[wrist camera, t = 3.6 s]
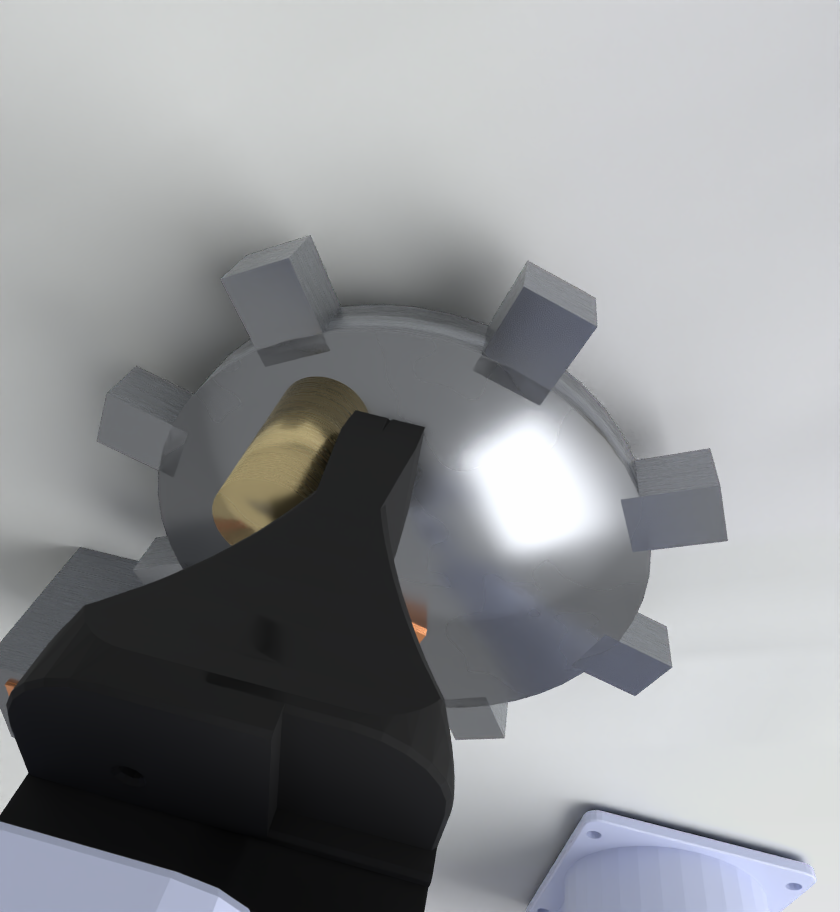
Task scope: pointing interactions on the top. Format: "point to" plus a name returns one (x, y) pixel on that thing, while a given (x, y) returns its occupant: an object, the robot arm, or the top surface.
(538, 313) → the sprocket
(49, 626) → the cube with orange inset
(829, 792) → the top surface
